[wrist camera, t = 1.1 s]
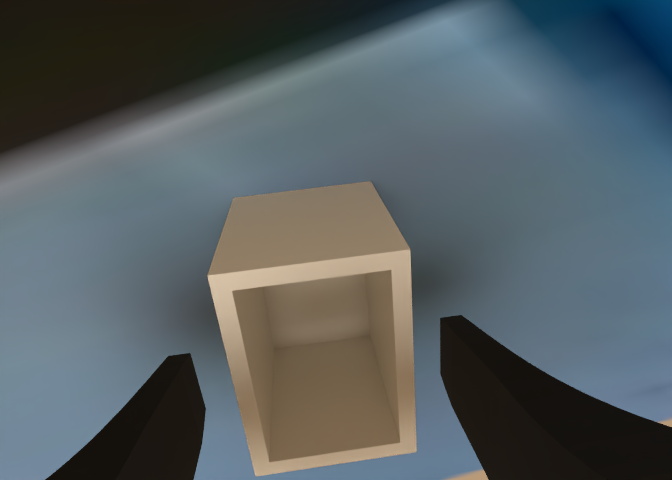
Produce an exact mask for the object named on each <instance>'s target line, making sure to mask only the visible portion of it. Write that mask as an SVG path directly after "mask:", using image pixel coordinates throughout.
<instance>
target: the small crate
mask: <svg viewBox="0 0 672 480" xmlns="http://www.w3.org/2000/svg"><path fill="white" fill-rule="evenodd" d="M207 276H208V281H209V285H210V289H211V293H212V297H213V301H214V305H215V310H216V314H217V318H218V322H219V326H220V330H221V335H222V339H223V343H224V347H225V351H226V355H227V360H228V364H229V368H230V372H231V376H232V380H233V384H234V389H235V393H236V397H237V401H238V405H239V409H240V414H241V418H242V422H243V426H244V430H245V434H246V439H247V443H248V447H249V451H250V455H251V459H252V463H253V468H254V472H255V476H262V475H268V474H275V473H281V472H288V471H295V470H301V469H308V468H314V467H321V466H328V465H334V464H341V463H347V462H354V461H360V460H367V459H374V458H380V457H387V456H393V455H400V454H407V453H413V452H417V448H416V416H415V384H414V352H413V320H412V287H411V255H410V248H409V246H408V245H407V243H406V241H405V239H404V238H403V236H402V234H401V233H400V231H399V229H398V227H397V226H396V224H395V222H394V220H393V219H392V217H391V215H390V214H389V212H388V210H387V208H386V207H385V205H384V203H383V202H382V200H381V198H380V196H379V195H378V193H377V191H376V189H375V188H374V186H373V184H372V183H371V181H367V182H359V183H351V184H343V185H334V186H326V187H318V188H310V189H301V190H293V191H285V192H277V193H268V194H260V195H252V196H244V197H235V198H233V201H232V204H231V207H230V210H229V213H228V216H227V219H226V221H225V224H224V227H223V230H222V233H221V236H220V239H219V242H218V245H217V248H216V251H215V254H214V257H213V260H212V263H211V266H210V269H209V272H208V275H207Z"/></svg>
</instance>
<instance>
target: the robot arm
mask: <svg viewBox="0 0 672 480" xmlns="http://www.w3.org/2000/svg"><path fill="white" fill-rule="evenodd" d="M440 366H441V377H442V380H443V383H444V386H445V389H446V391H447V394H448V397H449V400H450V402H451V405H452V407H453V409H454V411H455V413H456V415H457V417H458V419H459V421H460V423H461V425H462V427H463V429H464V431H465V433H466V435H467V437H468V439H469V441H470V443H471V445H472V447H473V449H474V451H475V453H476V455H477V457H478V459H479V461H480V463H481V465H482V467H483V469H484V471H485V473H486V475H487V477H488V479H489V480H672V427H669V426H666V425H663V424H660V423H657V422H654V421H652V420H649V419H646V418H643V417H640V416H637V415H635V414H632V413H630V412H627V411H624V410H622V409H619V408H617V407H615V406H612V405H610V404H608V403H605V402H603V401H601V400H598V399H596V398H594V397H591V396H589V395H587V394H585V393H583V392H581V391H579V390H577V389H575V388H573V387H571V386H569V385H567V384H565V383H563V382H561V381H559V380H557V379H556V378H554V377H552V376H550V375H548V374H547V373H545V372H543V371H542V370H540V369H538V368H537V367H535V366H533V365H532V364H530V363H528V362H527V361H525V360H524V359H522V358H521V357H519V356H518V355H516V354H515V353H513V352H512V351H510V350H509V349H507V348H506V347H504V346H503V345H501V344H500V343H499V342H497V341H496V340H494V339H493V338H492V337H490V336H489V335H487V334H486V333H485V332H483V331H482V330H481V329H479V328H478V327H477V326H475V325H474V324H473V323H471V322H470V321H469V320H467V319H466V318H464V317H463V316H462V315H458V316H451V317H444V318H440ZM205 410H206V408H205V404H204V401H203V397H202V393H201V390H200V386H199V383H198V379H197V376H196V372H195V368H194V365H193V361H192V358H191V354H190V353H188V354H180V355H173V356H168V357H167V358H166V359H165V361H164V362H163V363H162V364H161V365H160V366H159V367H158V368H157V370H156V371H155V372H154V373H153V374H152V375H151V377H150V378H149V379H148V380H147V381H146V382H145V384H144V385H143V386H142V387H141V388H140V389H139V390H138V392H137V393H136V394H135V395H134V396H133V397H132V398H131V399H130V401H129V402H128V403H127V404H126V405H125V406H124V407H123V408H122V409H121V410H120V411H119V412H118V413H117V414H116V415H115V416H114V418H113V419H112V420H111V421H110V422H109V423H108V424H107V425H106V426H105V427H104V428H103V429H102V430H101V431H100V432H99V433H98V434H97V435H96V436H95V437H94V438H93V439H92V440H91V441H90V442H89V443H88V444H86V445H85V446H84V447H83V448H82V449H81V450H80V451H79V452H78V453H77V454H75V455H74V456H73V457H72V458H71V459H70V460H69V461H67V462H66V463H65V464H64V465H63V466H62V467H61V468H59V469H58V470H57V471H56V472H55V473H53V474H52V475H51V476H49V477H48V478H47V479H46V480H193V479H194V475H195V471H196V467H197V462H198V458H199V454H200V450H201V445H202V439H203V430H204V421H205Z"/></svg>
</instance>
